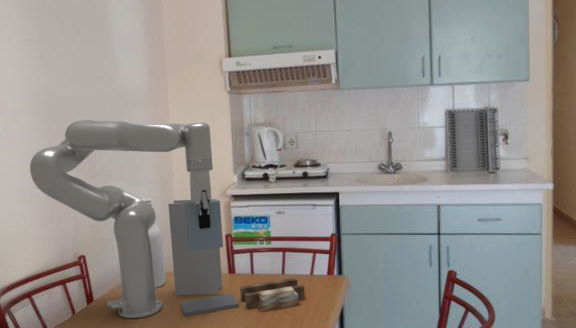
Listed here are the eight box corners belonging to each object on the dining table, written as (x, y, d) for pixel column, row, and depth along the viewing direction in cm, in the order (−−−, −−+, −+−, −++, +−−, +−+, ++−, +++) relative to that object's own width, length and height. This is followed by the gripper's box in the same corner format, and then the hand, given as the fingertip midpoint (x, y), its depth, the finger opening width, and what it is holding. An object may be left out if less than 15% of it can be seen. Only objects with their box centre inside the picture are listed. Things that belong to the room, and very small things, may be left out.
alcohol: (135, 289, 175) (127, 202, 172) (145, 280, 184) (138, 197, 180) (160, 289, 174) (152, 201, 171) (169, 280, 183) (162, 196, 179)
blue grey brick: (189, 251, 152) (185, 204, 150) (188, 249, 155) (184, 203, 153) (223, 247, 155) (219, 201, 153) (221, 244, 158) (218, 199, 156)
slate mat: (184, 316, 150) (184, 312, 150) (181, 305, 159) (181, 302, 159) (238, 306, 155) (238, 303, 155) (232, 296, 164) (232, 293, 164)
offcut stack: (260, 311, 151) (259, 296, 150) (257, 307, 154) (256, 292, 153) (299, 304, 154) (298, 289, 154) (295, 300, 158) (294, 285, 157)
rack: (247, 309, 153) (246, 296, 153) (241, 299, 161) (240, 286, 161) (304, 298, 159) (304, 286, 158) (295, 289, 167) (295, 277, 166)
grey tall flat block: (222, 288, 172) (216, 199, 168) (218, 294, 167) (212, 202, 163) (180, 288, 173) (173, 200, 170) (175, 294, 168) (168, 203, 164)
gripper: (183, 163, 159) (187, 222, 161) (190, 169, 143) (195, 234, 145) (207, 161, 161) (211, 219, 163) (217, 167, 145) (221, 231, 148)
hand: (203, 226), depth 154 cm, fingers closed on blue grey brick, 3 cm apart
